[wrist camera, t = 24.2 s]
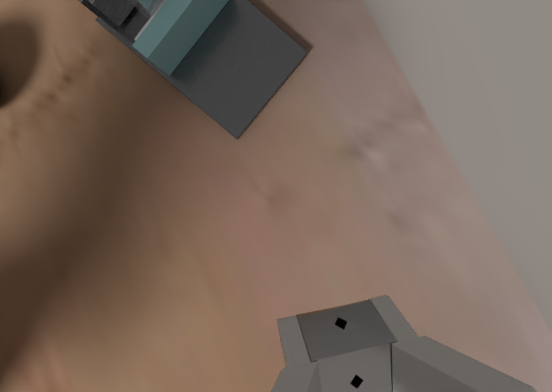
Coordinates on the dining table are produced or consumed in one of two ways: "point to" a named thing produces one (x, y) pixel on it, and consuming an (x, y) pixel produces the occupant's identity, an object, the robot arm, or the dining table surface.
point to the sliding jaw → (175, 30)
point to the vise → (219, 59)
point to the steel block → (146, 6)
